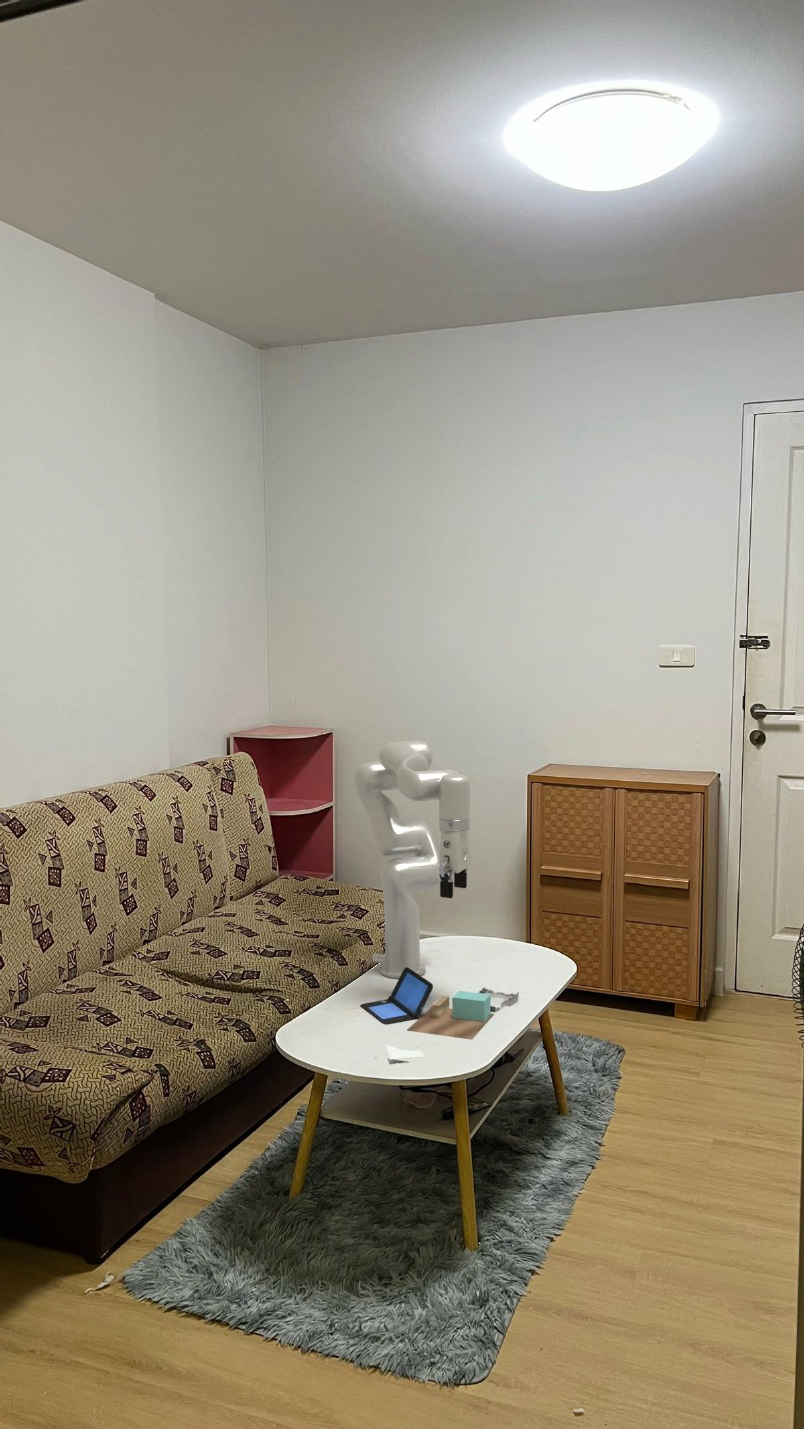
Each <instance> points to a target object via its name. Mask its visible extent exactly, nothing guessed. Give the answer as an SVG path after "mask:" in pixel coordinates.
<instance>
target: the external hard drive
mask: <svg viewBox="0 0 804 1429" xmlns="http://www.w3.org/2000/svg"><path fill="white" fill-rule="evenodd" d="M385 1046H386V1051H387V1053H388V1056H389V1058H386V1059H387V1061H388V1064H389V1065H395V1064H396V1063H398V1064H404V1063H403V1062H408V1060H401V1059H413V1058H424V1057H425V1055H424V1053H423V1052H422V1051H421V1050H419V1049H418V1050H403V1049H401V1048H397V1047H394V1046H390V1045H388V1044H386V1045H385Z"/></svg>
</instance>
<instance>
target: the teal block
mask: <svg viewBox="0 0 804 1429" xmlns="http://www.w3.org/2000/svg"><path fill="white" fill-rule="evenodd" d="M451 999H452V1000H451V1001H452V1002H451V1003H452V1004H451V1005H452V1006H451V1009H452V1018H457V1019H465V1020H473V1021H481V1022H485V1021H486V1020H487V1018H488V1017H489V1016H490V1015H491V1014H492V1013H491V1012H492V1011H491V1006H492V1005H491V997H490V994H482V993H478V992H474V991H473V992H472V991H471V992H470V991H464V990H458V991H457V992H456V993H455V994H454V995H453V996H452V997H451Z"/></svg>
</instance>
